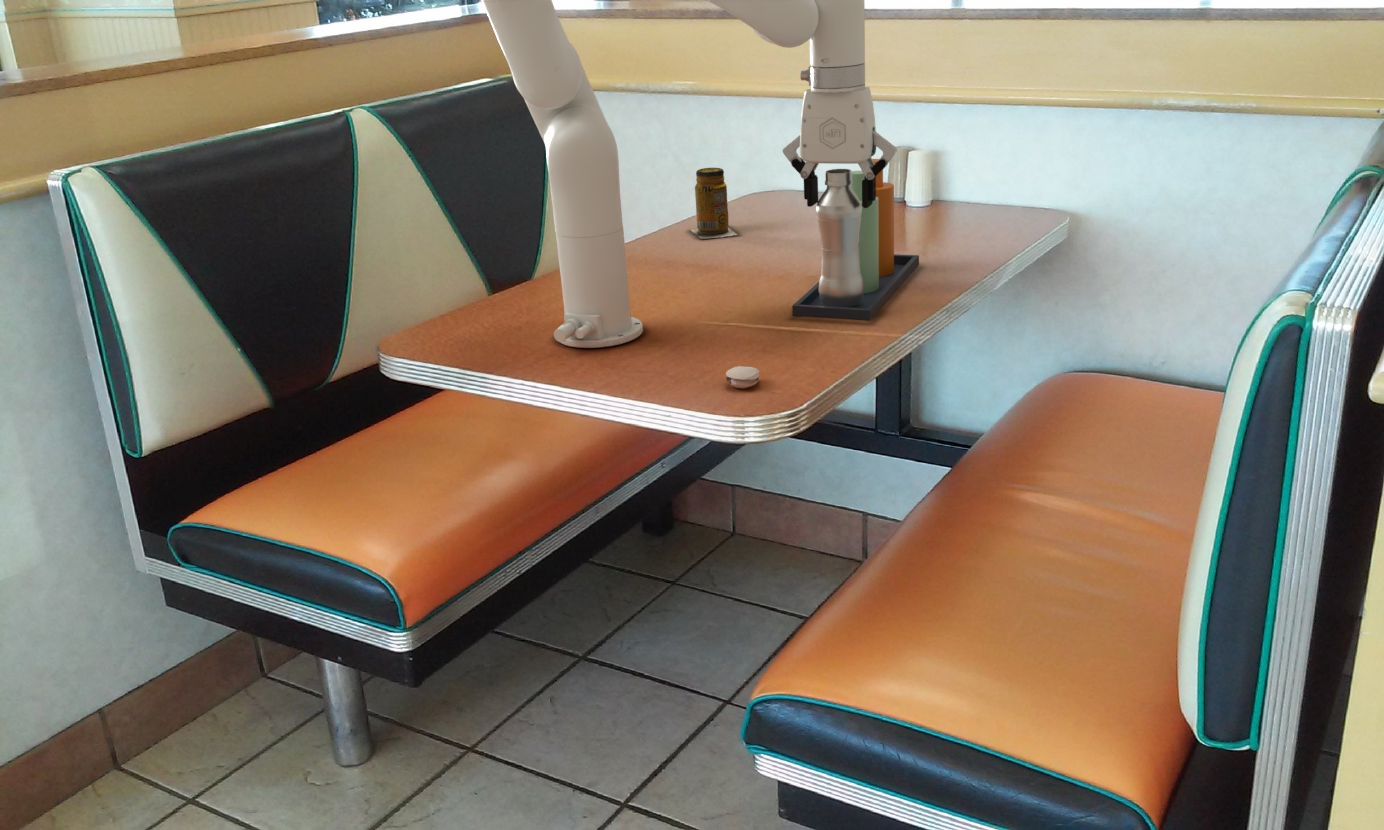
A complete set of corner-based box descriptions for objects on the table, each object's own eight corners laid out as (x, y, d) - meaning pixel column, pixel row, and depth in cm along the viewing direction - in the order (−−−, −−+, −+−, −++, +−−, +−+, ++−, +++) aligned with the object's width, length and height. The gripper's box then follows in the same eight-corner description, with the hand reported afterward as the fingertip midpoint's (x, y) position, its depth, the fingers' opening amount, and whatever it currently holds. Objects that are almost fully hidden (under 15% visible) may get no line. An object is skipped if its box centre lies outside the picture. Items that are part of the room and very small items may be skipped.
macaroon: (720, 387, 148) (718, 368, 147) (744, 375, 151) (743, 357, 150) (746, 394, 145) (745, 375, 144) (771, 381, 148) (770, 363, 147)
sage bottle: (873, 294, 178) (872, 176, 171) (835, 292, 181) (832, 176, 174) (883, 284, 183) (882, 168, 176) (846, 282, 186) (844, 168, 179)
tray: (869, 324, 167) (869, 310, 166) (792, 319, 171) (791, 305, 171) (919, 267, 193) (919, 255, 192) (850, 264, 197) (850, 252, 196)
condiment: (726, 226, 229) (723, 165, 225) (737, 235, 221) (734, 172, 217) (690, 230, 228) (686, 169, 223) (700, 240, 220) (695, 176, 216)
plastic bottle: (863, 312, 170) (861, 175, 163) (816, 312, 172) (812, 176, 164) (865, 299, 176) (864, 166, 169) (820, 299, 178) (817, 167, 170)
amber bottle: (888, 277, 186) (888, 164, 179) (852, 276, 189) (850, 163, 182) (898, 267, 191) (898, 157, 184) (862, 266, 194) (861, 156, 187)
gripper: (769, 83, 162) (774, 209, 168) (893, 81, 155) (893, 213, 162) (786, 76, 168) (790, 198, 175) (906, 74, 161) (906, 201, 168)
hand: (839, 204), depth 168 cm, fingers open, 7 cm apart
